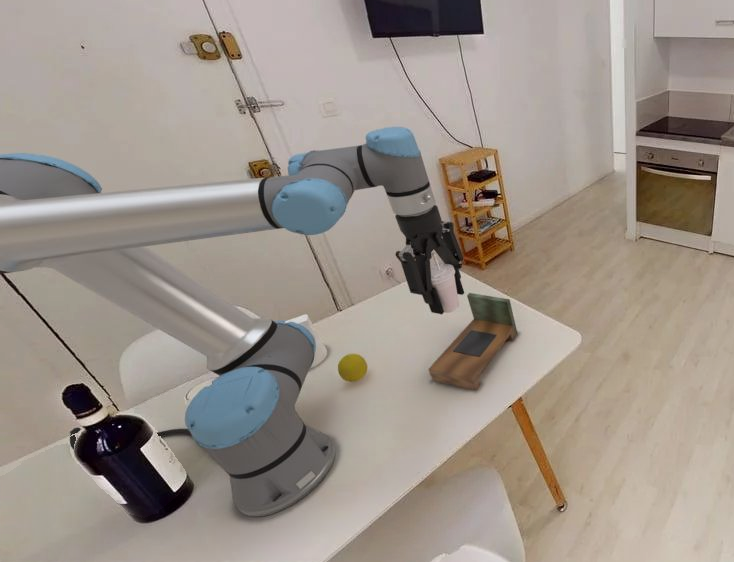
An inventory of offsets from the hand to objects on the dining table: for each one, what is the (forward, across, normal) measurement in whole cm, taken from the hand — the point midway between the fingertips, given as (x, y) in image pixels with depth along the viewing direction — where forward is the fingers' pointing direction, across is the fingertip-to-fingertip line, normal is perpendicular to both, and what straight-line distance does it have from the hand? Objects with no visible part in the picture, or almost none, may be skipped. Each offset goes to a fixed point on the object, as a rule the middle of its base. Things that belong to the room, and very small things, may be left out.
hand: (448, 302), depth 90 cm
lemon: (+21, -10, +25) cm, 34 cm away
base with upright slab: (+21, -8, +44) cm, 49 cm away
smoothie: (+2, 0, 0) cm, 2 cm away
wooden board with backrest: (+21, +4, +1) cm, 22 cm away
